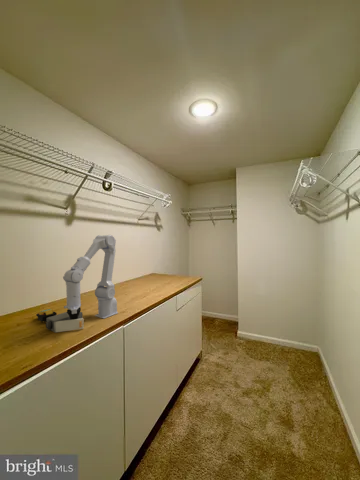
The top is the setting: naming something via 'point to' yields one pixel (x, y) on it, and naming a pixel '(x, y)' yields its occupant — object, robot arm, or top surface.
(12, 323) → the top surface
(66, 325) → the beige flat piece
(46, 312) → the gadget
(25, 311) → the top surface
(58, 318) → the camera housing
